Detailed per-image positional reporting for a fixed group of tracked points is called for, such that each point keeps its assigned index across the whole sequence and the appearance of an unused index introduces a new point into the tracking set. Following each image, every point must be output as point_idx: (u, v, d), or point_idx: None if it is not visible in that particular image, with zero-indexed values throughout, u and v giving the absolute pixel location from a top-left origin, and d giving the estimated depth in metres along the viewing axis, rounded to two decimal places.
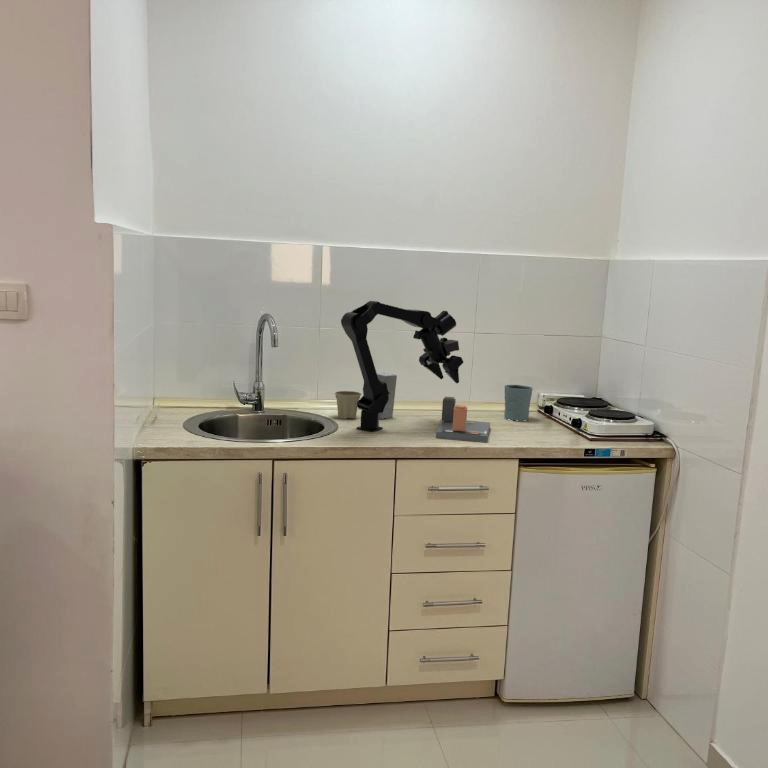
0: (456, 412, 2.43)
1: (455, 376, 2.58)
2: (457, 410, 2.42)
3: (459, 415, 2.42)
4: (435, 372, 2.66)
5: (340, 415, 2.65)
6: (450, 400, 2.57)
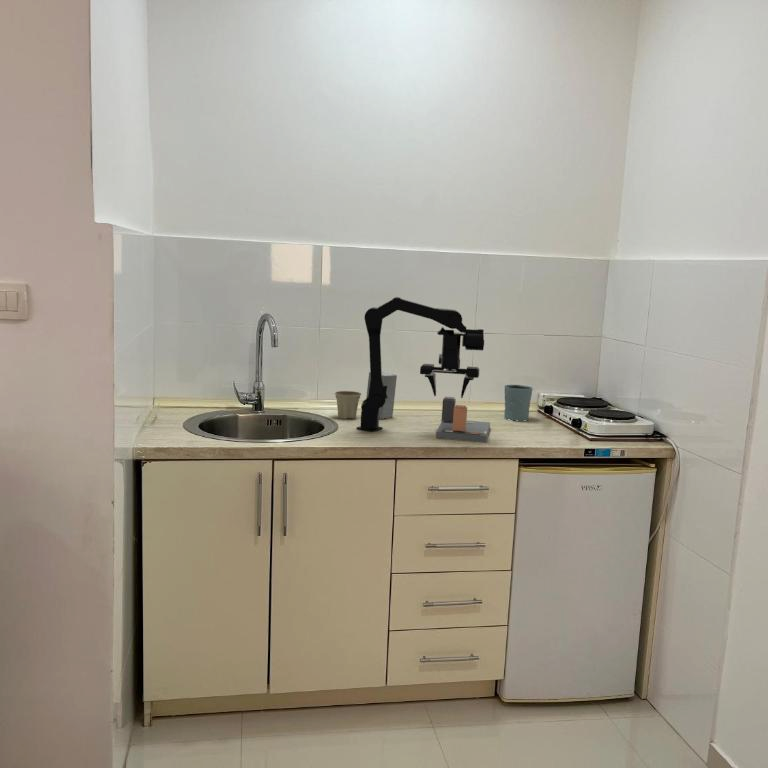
0: (456, 412, 2.43)
1: (465, 388, 2.47)
2: (457, 410, 2.42)
3: (459, 415, 2.42)
4: (434, 385, 2.47)
5: (340, 415, 2.65)
6: (450, 400, 2.57)
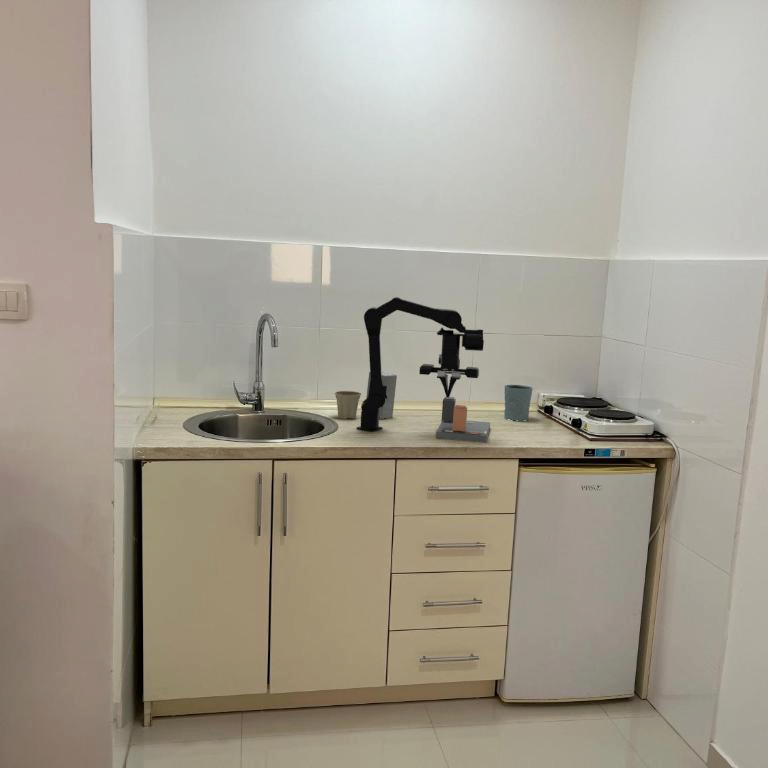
0: (456, 412, 2.43)
1: None
2: (457, 410, 2.42)
3: (459, 415, 2.42)
4: (447, 387, 2.46)
5: (340, 415, 2.65)
6: (450, 400, 2.57)
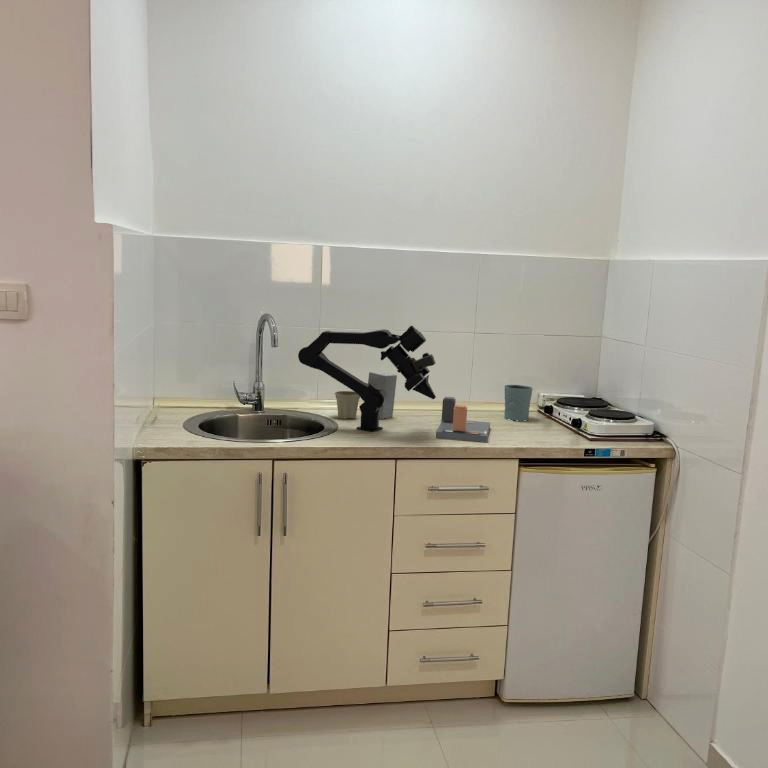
0: (456, 412, 2.43)
1: (426, 392, 2.44)
2: (457, 410, 2.42)
3: (459, 415, 2.42)
4: None
5: (340, 415, 2.65)
6: (450, 400, 2.57)
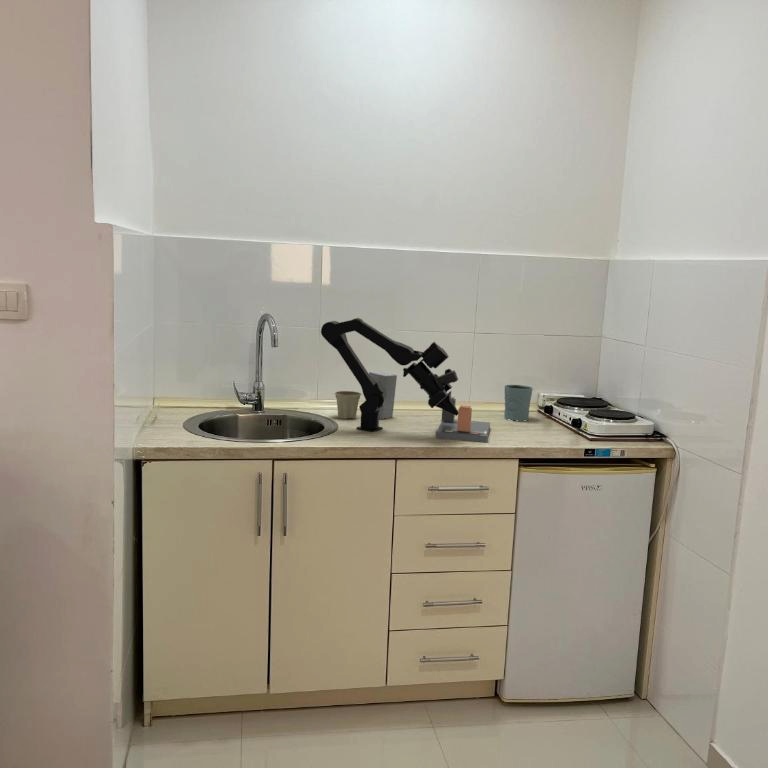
0: (461, 412, 2.42)
1: (449, 408, 2.43)
2: (462, 410, 2.42)
3: (464, 416, 2.42)
4: None
5: (340, 415, 2.65)
6: None
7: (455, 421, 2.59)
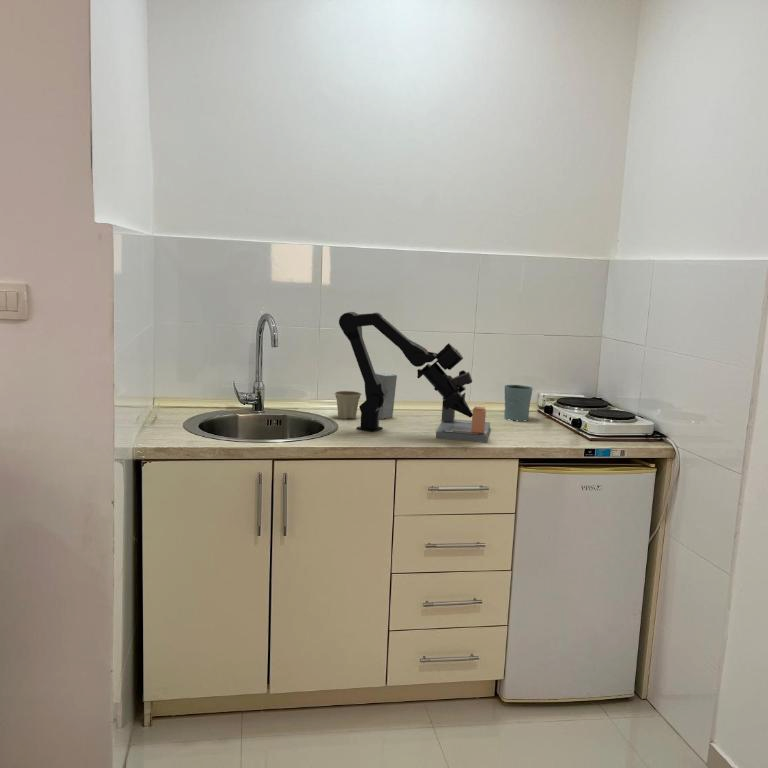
0: (475, 414, 2.41)
1: (464, 410, 2.43)
2: (476, 412, 2.41)
3: (478, 417, 2.41)
4: None
5: (340, 415, 2.65)
6: None
7: (455, 421, 2.59)
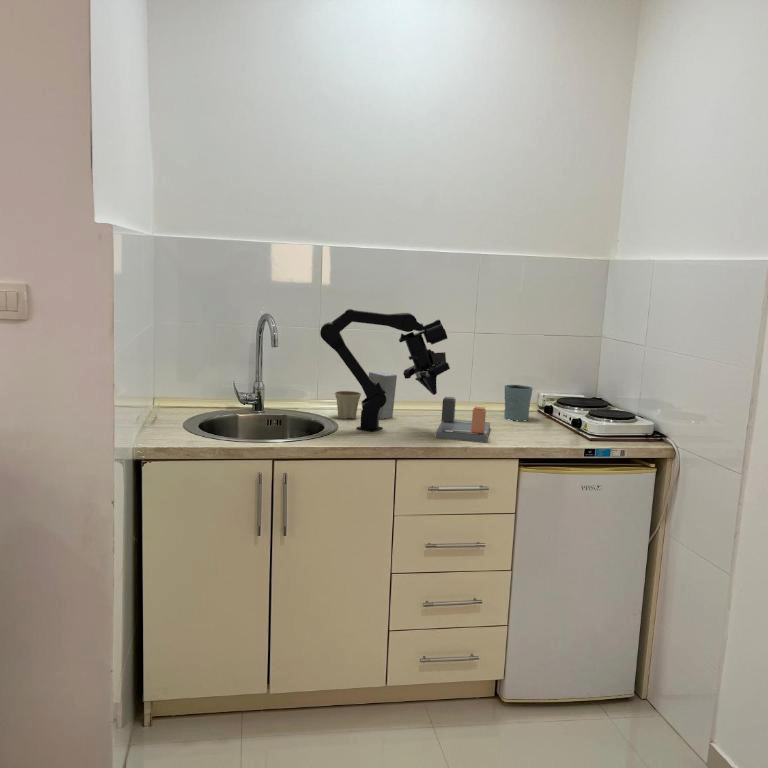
0: (475, 414, 2.41)
1: (433, 385, 2.48)
2: (476, 412, 2.41)
3: (478, 417, 2.41)
4: (427, 386, 2.49)
5: (340, 415, 2.65)
6: (450, 400, 2.57)
7: (455, 421, 2.59)
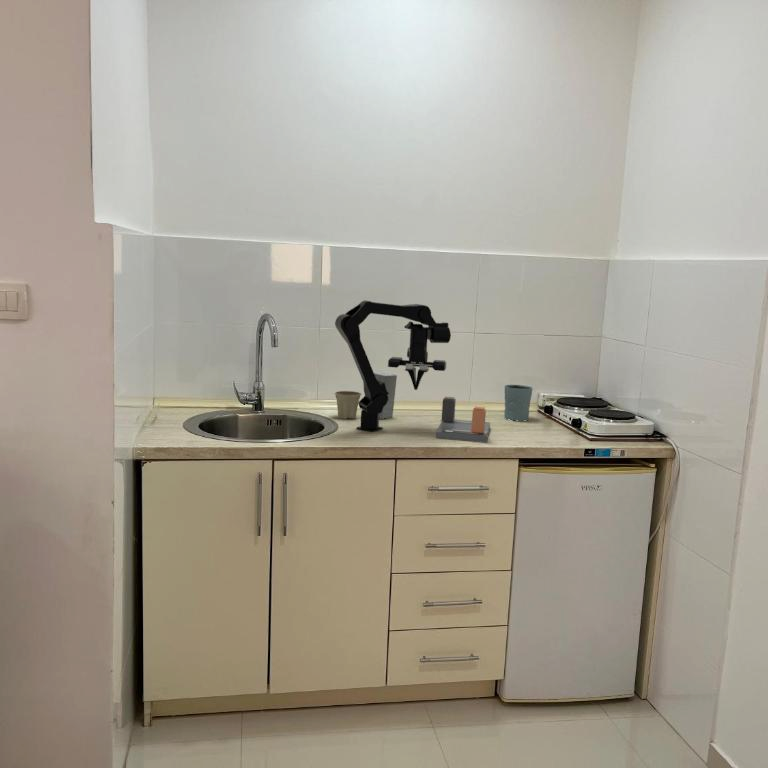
0: (475, 414, 2.41)
1: (420, 380, 2.53)
2: (476, 412, 2.41)
3: (478, 417, 2.41)
4: (414, 379, 2.52)
5: (340, 415, 2.65)
6: (450, 400, 2.57)
7: (455, 421, 2.59)
